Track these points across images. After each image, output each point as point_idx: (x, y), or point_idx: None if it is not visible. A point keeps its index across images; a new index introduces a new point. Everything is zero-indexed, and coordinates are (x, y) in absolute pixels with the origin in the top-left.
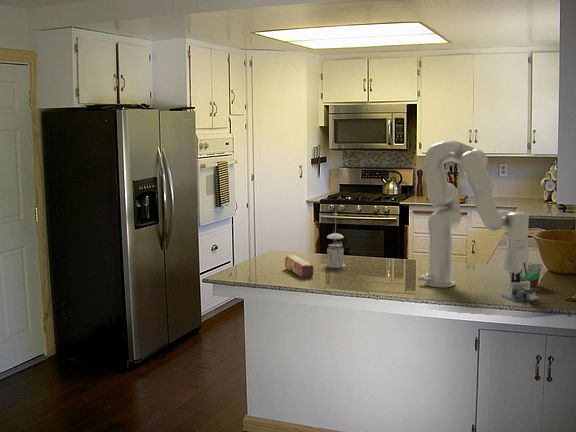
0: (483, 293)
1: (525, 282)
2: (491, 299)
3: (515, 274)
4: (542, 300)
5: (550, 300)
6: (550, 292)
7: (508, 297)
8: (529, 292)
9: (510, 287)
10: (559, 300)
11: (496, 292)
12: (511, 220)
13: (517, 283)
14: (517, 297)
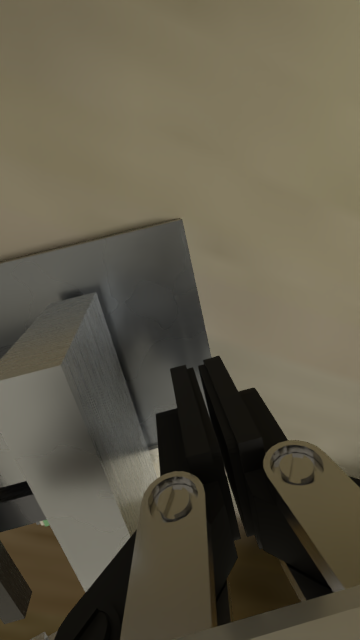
0: (329, 21)
1: (84, 581)
2: (17, 9)
3: (149, 625)
4: (32, 524)
5: (38, 569)
6: (258, 601)
7: (35, 255)
8: (3, 498)
9: (63, 327)
10: (44, 613)
11: (337, 219)
12: None
13: (31, 467)
14: (6, 347)
